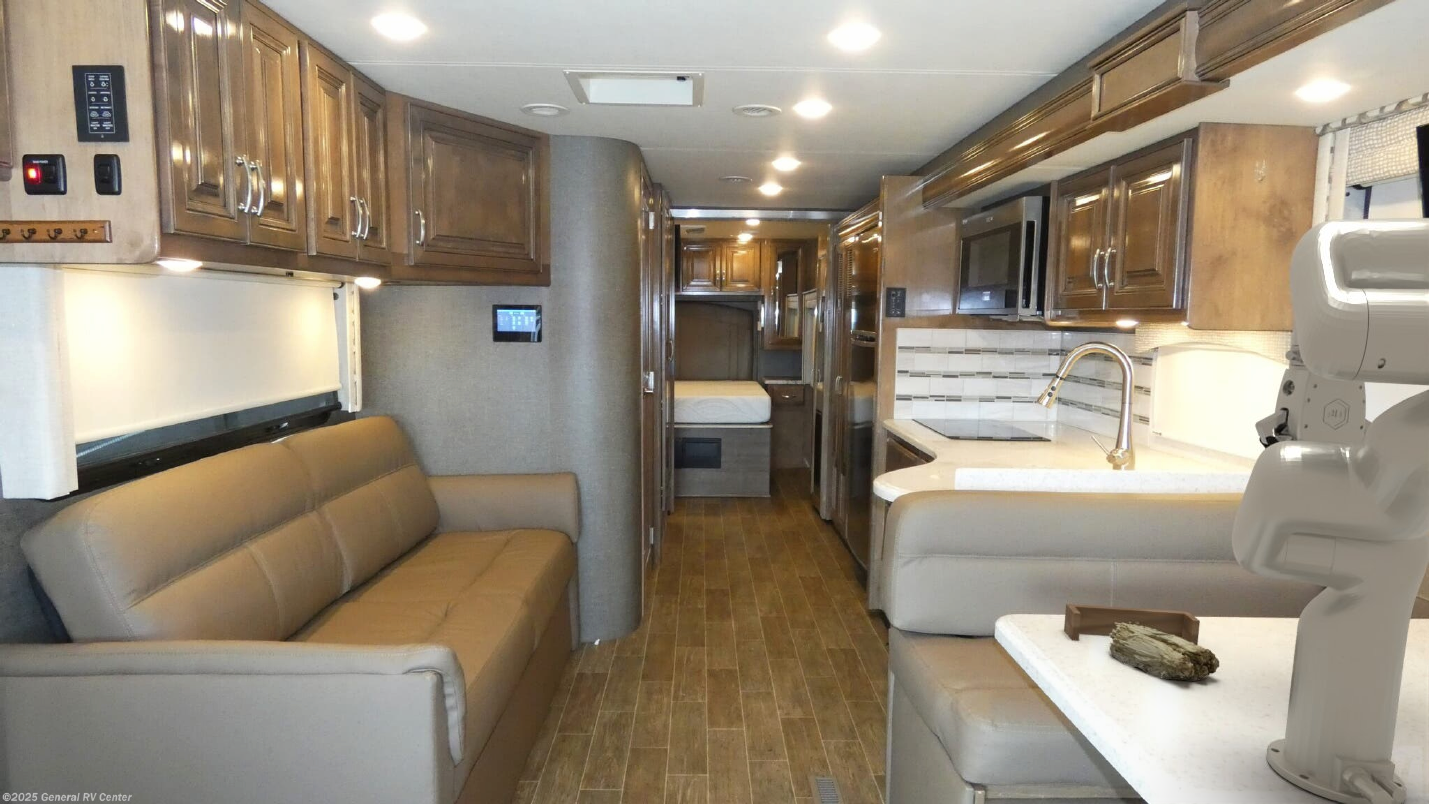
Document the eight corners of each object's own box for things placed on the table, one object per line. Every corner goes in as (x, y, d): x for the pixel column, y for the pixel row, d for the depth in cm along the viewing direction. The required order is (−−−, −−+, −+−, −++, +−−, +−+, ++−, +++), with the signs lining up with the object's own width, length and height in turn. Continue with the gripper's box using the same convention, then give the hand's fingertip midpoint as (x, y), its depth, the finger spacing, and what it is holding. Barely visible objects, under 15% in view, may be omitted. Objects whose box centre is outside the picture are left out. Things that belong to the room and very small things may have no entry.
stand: (1197, 648, 127) (1199, 620, 127) (1072, 640, 129) (1074, 612, 129) (1185, 638, 131) (1187, 611, 131) (1064, 630, 133) (1066, 604, 133)
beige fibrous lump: (1225, 679, 117) (1228, 644, 116) (1186, 693, 112) (1190, 656, 112) (1131, 643, 130) (1134, 610, 129) (1093, 654, 125) (1096, 620, 124)
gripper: (1288, 359, 105) (1274, 489, 106) (1407, 363, 107) (1391, 490, 108) (1244, 356, 112) (1231, 478, 114) (1355, 360, 114) (1342, 479, 116)
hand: (1310, 484), depth 111 cm, fingers open, 9 cm apart
